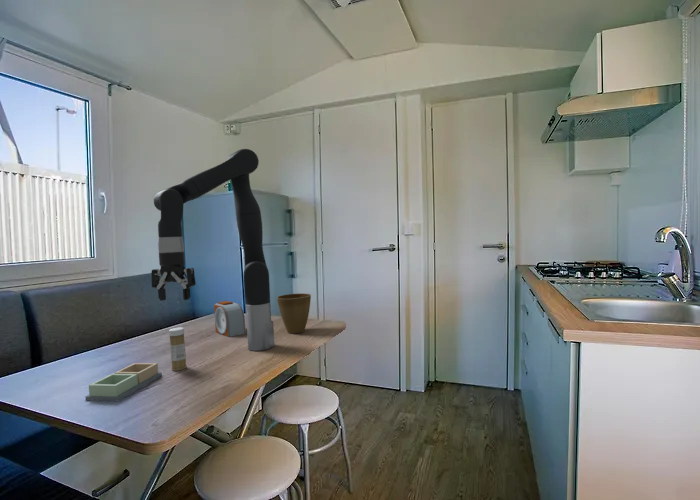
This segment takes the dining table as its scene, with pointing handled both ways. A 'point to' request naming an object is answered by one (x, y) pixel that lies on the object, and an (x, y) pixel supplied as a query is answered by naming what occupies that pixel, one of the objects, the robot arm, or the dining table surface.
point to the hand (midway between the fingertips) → (174, 300)
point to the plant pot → (294, 311)
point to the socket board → (123, 382)
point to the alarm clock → (229, 318)
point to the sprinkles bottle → (177, 348)
